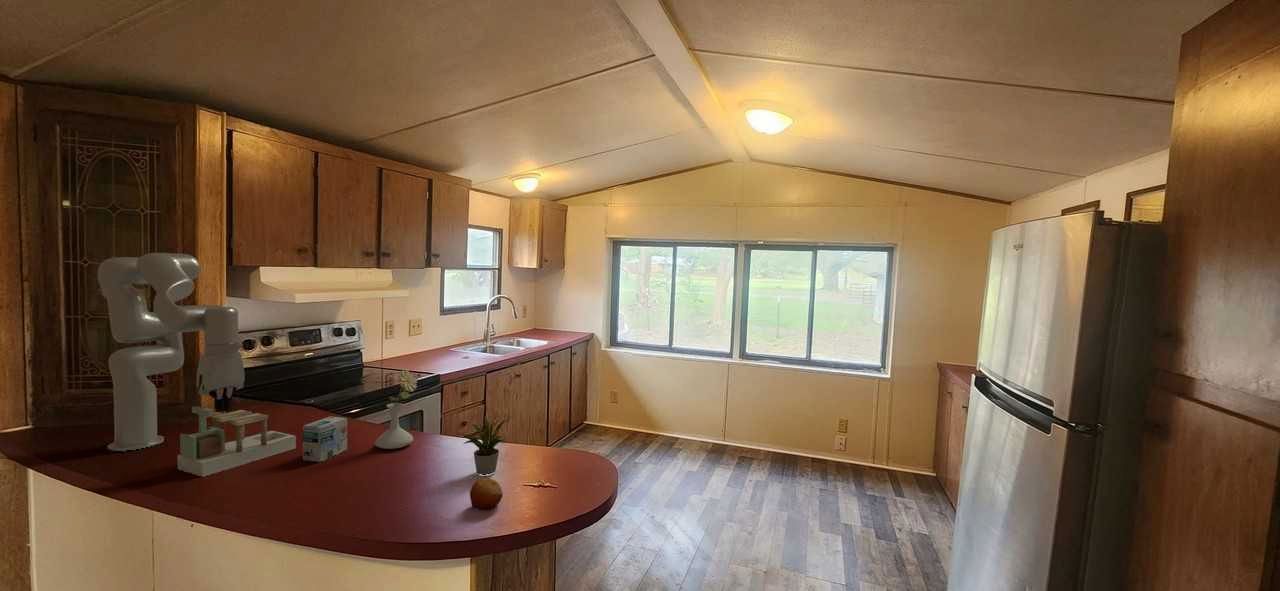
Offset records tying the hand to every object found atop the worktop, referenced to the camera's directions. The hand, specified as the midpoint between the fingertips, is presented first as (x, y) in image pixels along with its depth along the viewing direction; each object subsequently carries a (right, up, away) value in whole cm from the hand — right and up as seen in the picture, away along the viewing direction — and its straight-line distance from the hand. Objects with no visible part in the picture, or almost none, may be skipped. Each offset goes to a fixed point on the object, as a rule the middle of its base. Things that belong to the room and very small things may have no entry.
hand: (222, 411), depth 143 cm
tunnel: (+1, -12, +5) cm, 13 cm away
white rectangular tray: (+1, -16, +5) cm, 16 cm away
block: (-2, -12, -3) cm, 12 cm away
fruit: (+84, -19, -21) cm, 89 cm away
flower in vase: (+42, -16, +19) cm, 49 cm away
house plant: (+78, -18, +1) cm, 80 cm away
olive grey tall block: (-2, -11, -4) cm, 12 cm away
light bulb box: (+24, -16, +9) cm, 31 cm away
